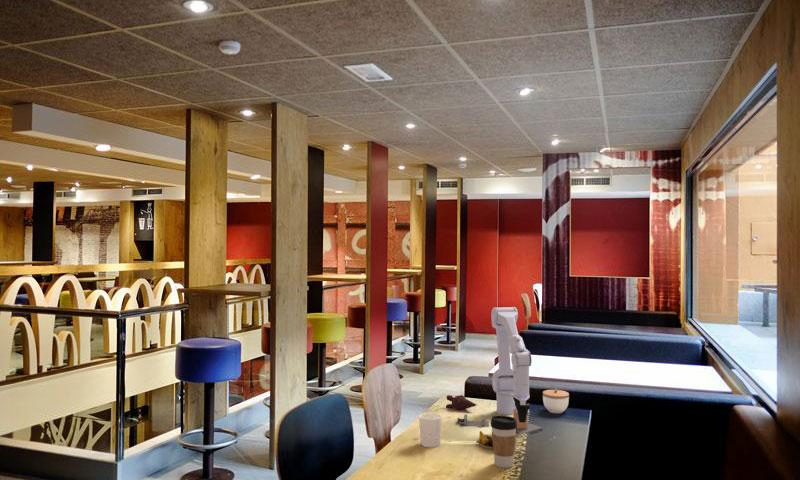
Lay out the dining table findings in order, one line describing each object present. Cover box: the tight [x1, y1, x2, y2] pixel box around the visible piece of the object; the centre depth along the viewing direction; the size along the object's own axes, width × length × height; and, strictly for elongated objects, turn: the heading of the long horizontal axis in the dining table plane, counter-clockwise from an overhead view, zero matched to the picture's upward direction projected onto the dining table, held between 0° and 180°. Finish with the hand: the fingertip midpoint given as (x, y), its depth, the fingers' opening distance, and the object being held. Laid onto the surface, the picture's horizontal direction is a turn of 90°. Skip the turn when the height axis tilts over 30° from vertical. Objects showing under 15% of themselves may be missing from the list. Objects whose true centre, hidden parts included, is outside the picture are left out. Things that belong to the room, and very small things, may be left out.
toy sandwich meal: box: [477, 430, 493, 451], centre depth 212 cm, size 12×14×5 cm
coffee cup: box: [490, 415, 517, 469], centre depth 193 cm, size 8×8×15 cm
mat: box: [516, 422, 543, 435], centre depth 229 cm, size 11×11×1 cm
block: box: [512, 409, 528, 429], centre depth 229 cm, size 5×4×6 cm
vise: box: [456, 414, 490, 428], centre depth 233 cm, size 12×7×4 cm, turn 83°
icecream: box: [445, 394, 477, 411], centre depth 253 cm, size 7×7×15 cm
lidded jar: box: [542, 388, 570, 414], centre depth 253 cm, size 11×11×9 cm
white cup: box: [418, 412, 442, 449], centre depth 212 cm, size 8×8×10 cm
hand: (521, 419), depth 229 cm, fingers open, 7 cm apart
